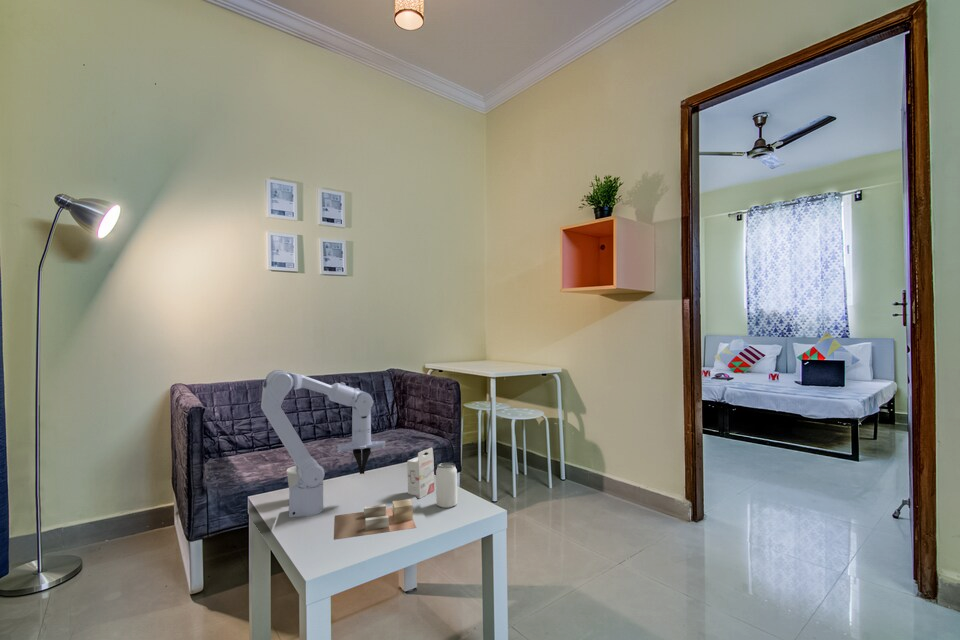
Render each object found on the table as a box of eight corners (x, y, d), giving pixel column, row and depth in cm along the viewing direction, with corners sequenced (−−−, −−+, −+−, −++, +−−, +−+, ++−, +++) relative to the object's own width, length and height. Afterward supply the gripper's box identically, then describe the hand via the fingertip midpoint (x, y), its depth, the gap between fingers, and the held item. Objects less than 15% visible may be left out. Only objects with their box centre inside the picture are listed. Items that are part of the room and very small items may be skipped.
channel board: (333, 543, 113) (333, 529, 113) (334, 519, 128) (334, 506, 128) (416, 531, 119) (416, 518, 119) (408, 509, 134) (407, 497, 134)
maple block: (394, 522, 123) (394, 507, 123) (392, 515, 128) (392, 501, 128) (412, 519, 124) (412, 505, 124) (410, 513, 129) (409, 499, 129)
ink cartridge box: (422, 488, 153) (422, 445, 153) (434, 490, 150) (434, 446, 151) (407, 496, 145) (406, 451, 146) (419, 499, 143) (418, 452, 143)
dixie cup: (300, 506, 139) (300, 473, 139) (280, 502, 142) (280, 470, 142) (319, 496, 146) (319, 466, 147) (300, 493, 149) (300, 463, 150)
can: (461, 503, 138) (461, 464, 138) (446, 510, 133) (445, 469, 134) (447, 498, 142) (446, 461, 143) (432, 504, 138) (431, 465, 138)
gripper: (337, 434, 135) (337, 479, 134) (386, 430, 139) (386, 474, 139) (337, 429, 142) (337, 472, 141) (384, 425, 146) (384, 467, 145)
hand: (361, 472), depth 140 cm, fingers closed
